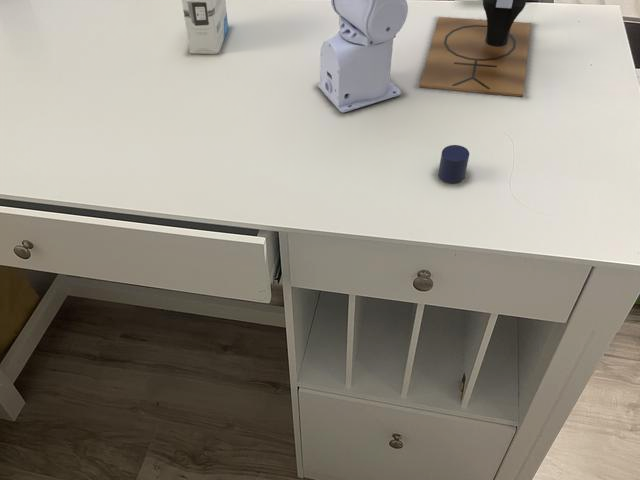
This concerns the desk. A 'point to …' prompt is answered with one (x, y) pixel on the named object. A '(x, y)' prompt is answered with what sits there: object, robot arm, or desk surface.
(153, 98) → the desk surface
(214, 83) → the desk surface
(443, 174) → the dot
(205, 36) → the ink box
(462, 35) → the sheet
